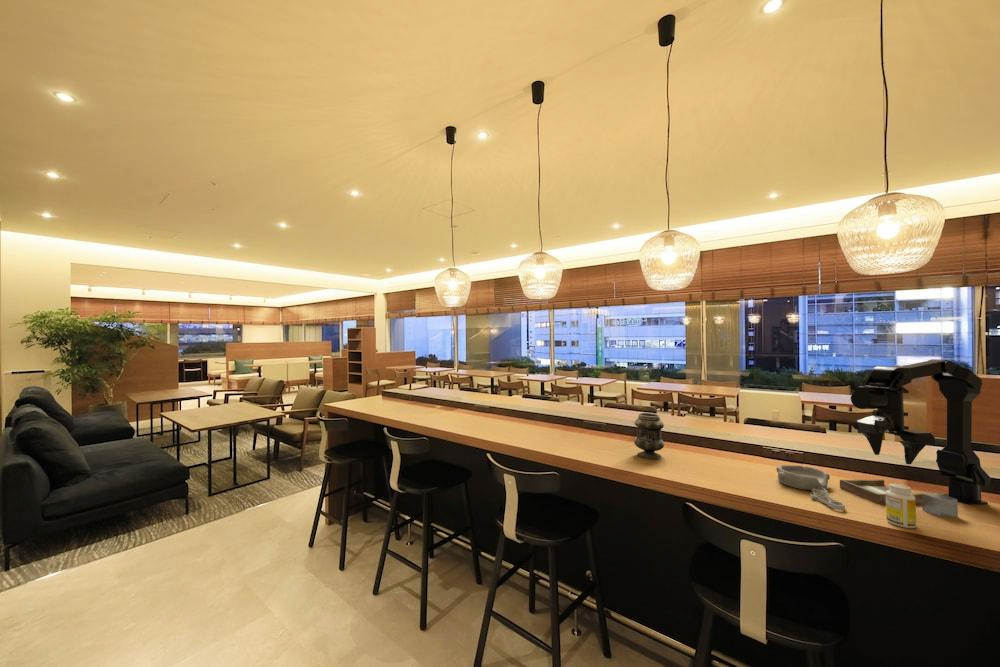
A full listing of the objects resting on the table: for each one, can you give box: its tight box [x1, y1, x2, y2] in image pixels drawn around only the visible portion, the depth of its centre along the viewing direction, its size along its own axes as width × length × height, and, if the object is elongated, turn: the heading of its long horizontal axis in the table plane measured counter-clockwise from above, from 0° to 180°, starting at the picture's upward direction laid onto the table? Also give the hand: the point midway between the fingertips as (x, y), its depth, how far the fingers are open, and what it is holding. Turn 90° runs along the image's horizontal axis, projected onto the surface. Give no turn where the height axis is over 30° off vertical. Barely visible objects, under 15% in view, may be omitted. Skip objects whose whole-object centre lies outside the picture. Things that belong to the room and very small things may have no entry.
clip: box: [921, 492, 959, 518], centre depth 107 cm, size 5×4×5 cm
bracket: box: [810, 487, 846, 511], centre depth 116 cm, size 8×2×15 cm
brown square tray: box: [839, 479, 922, 505], centre depth 120 cm, size 14×13×3 cm
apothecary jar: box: [633, 412, 665, 461], centre depth 162 cm, size 12×12×18 cm
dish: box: [775, 464, 831, 491], centre depth 129 cm, size 14×14×5 cm
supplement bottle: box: [885, 482, 917, 529], centre depth 101 cm, size 6×6×10 cm
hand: (892, 459), depth 114 cm, fingers open, 9 cm apart
